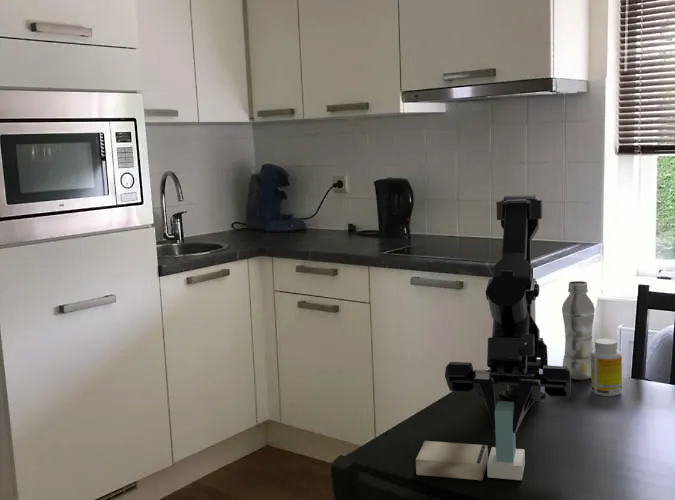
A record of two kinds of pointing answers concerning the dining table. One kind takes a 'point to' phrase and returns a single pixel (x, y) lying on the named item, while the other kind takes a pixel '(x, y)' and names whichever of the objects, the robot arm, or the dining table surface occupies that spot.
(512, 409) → the teal pillar on base
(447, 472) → the beige flat block
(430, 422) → the dining table surface
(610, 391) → the supplement bottle
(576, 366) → the plastic bottle
